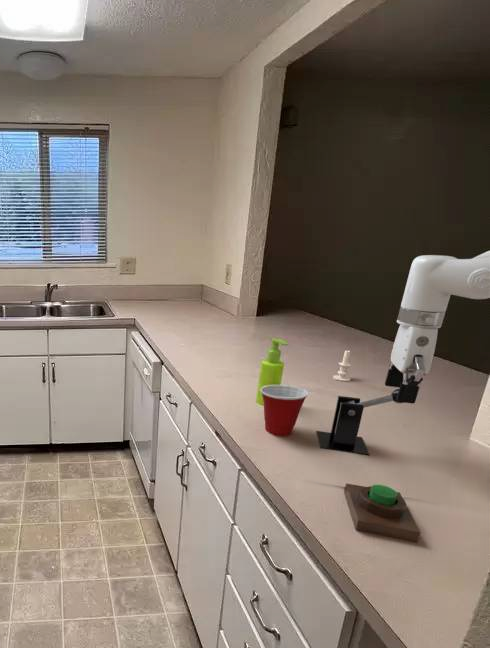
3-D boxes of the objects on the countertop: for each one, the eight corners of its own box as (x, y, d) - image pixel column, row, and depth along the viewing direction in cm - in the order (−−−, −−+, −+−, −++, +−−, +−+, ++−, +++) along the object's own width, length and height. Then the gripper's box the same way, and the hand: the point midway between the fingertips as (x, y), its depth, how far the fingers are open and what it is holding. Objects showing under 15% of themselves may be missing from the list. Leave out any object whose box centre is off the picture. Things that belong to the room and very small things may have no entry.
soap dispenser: (265, 411, 122) (276, 343, 116) (251, 402, 129) (260, 336, 122) (283, 409, 124) (295, 341, 117) (268, 400, 130) (278, 335, 123)
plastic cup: (275, 421, 117) (281, 379, 112) (310, 438, 107) (318, 393, 103) (245, 429, 112) (250, 386, 108) (278, 447, 103) (286, 401, 99)
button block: (343, 492, 86) (347, 475, 84) (397, 502, 83) (402, 484, 81) (355, 530, 75) (360, 511, 74) (417, 543, 72) (423, 523, 71)
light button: (366, 490, 80) (368, 482, 80) (392, 495, 79) (394, 487, 78) (371, 503, 77) (373, 494, 76) (398, 508, 75) (400, 499, 75)
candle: (352, 382, 144) (358, 352, 140) (334, 380, 146) (340, 350, 142) (349, 377, 149) (355, 348, 145) (331, 375, 150) (337, 346, 147)
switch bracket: (360, 441, 106) (371, 396, 102) (369, 459, 98) (380, 411, 94) (315, 434, 109) (323, 391, 105) (319, 451, 101) (329, 405, 97)
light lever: (408, 398, 96) (404, 385, 96) (412, 403, 94) (408, 390, 93) (343, 413, 102) (339, 400, 102) (345, 418, 99) (341, 406, 99)
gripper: (459, 328, 81) (432, 411, 87) (427, 311, 96) (407, 383, 102) (411, 325, 83) (389, 406, 89) (388, 308, 98) (370, 379, 104)
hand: (398, 393), depth 95 cm, fingers open, 9 cm apart
